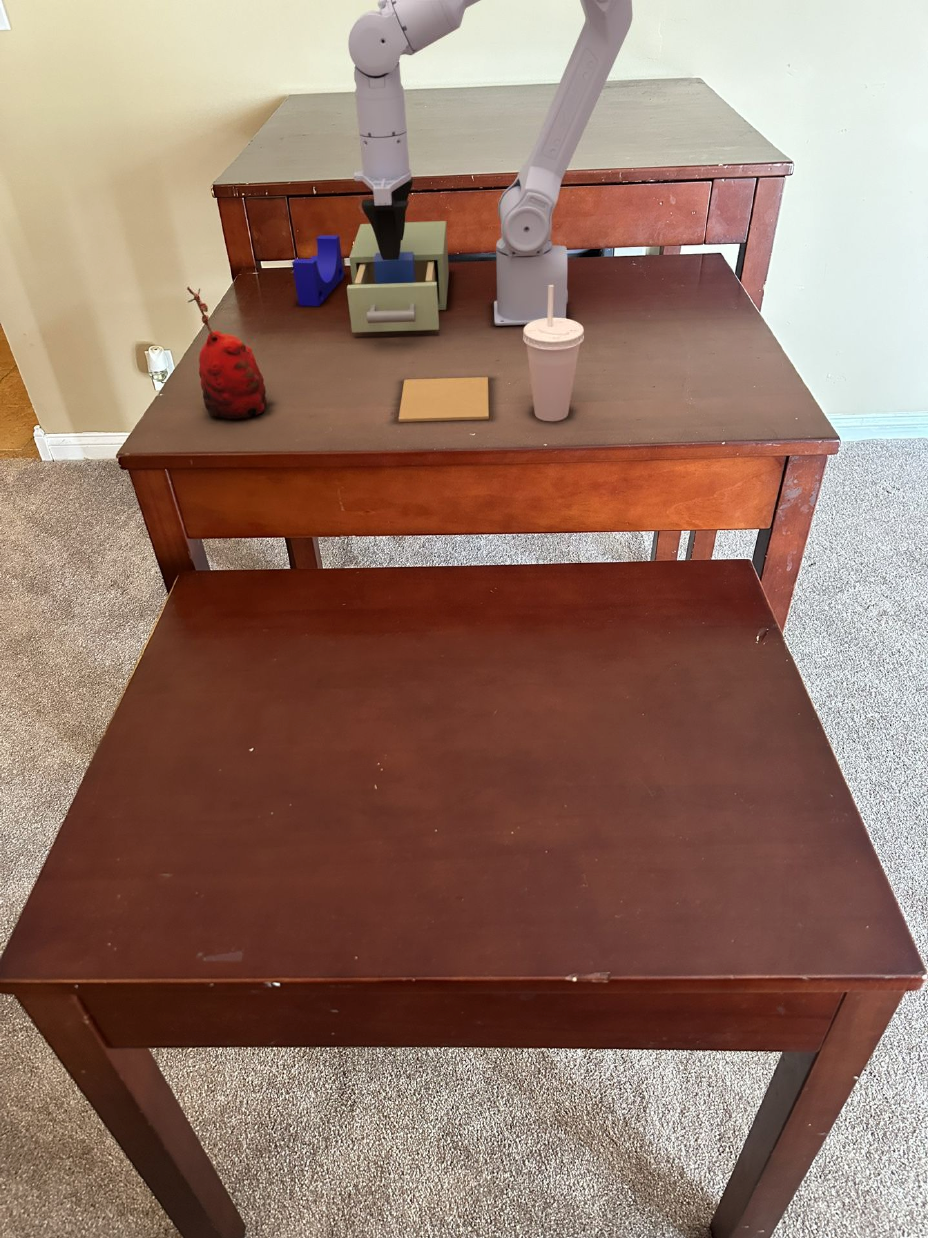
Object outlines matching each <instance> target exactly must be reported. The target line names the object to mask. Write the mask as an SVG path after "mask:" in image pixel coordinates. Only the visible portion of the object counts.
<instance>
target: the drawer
mask: <svg viewBox="0 0 928 1238" xmlns="http://www.w3.org/2000/svg"><path fill="white" fill-rule="evenodd" d="M414 266H415V280H416V283H393V284H376V282H375V272H374V262H363V263H360V267H359V270H358V273H357V277H356V280H355V285H353V284H348V285H347V287H346V294H347V301H348V310H349V318H350V319H349V320H350V326H351V333H378V332H410V331H413V332H414V331H438V330H440V317H439V315H440V314H439V310H438V296H437V278H436V261H435V260H420V261H414Z"/></svg>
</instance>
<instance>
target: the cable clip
mask: <svg viewBox="0 0 928 1238" xmlns="http://www.w3.org/2000/svg"><path fill="white" fill-rule="evenodd" d="M340 240H341V239H340V235H328V234H327V235H324V234H323V235H322V234H320V235H319V236H317V238H316V246H317V248H316V249H317V251H316V253H317V255H312V256H311V257H310V258H295V259H294V260H293V261H292V262H291V263H292V269H293V270H292V271H293V276H294V277H293V278H294V283H295V288H296V295H297V296H296V297H297V302H298V306H301V307H302V306H304V307H320V306H321V305H322V304H323V302H324V301H325V300H326V299H327V298H328V296H329V295H330V294H331V293H332V292H333V291H334V289H335V288H336V287H337V286H338V285H339V284H340V282H342V280H343V279H344V278H345V273H344V265H343V257H342V249H341V241H340Z"/></svg>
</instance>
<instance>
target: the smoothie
mask: <svg viewBox="0 0 928 1238" xmlns="http://www.w3.org/2000/svg"><path fill="white" fill-rule="evenodd" d="M553 290H554V286H553V285H548V317H547V318H543V319H538V320H535V321H532V322H530V323H529V324H527V325H524V327H523V335H522V340H523V342H524V343H525V344H526V352H527V360H528V361H527V362H528V369H529V377H530V385H531V393H532V402H533V410H534V411H533V412H534V416H535V417H536V418H537V419H539V420H541V421H545V422H559V421H561V420H564V419H566V418H567V417H568V415H569V411H570V404H571V399H572V393H573V387H574V381H575V375H576V369H577V364H578V358H579V353H580V345H581V343H583V342H584V339H585V335H584V332H585V328H584V326H583V325H582V324H581V323H580V322H577V321H576V320H574V319H570V318H566V319H565V318H553Z"/></svg>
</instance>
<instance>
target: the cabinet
mask: <svg viewBox="0 0 928 1238" xmlns="http://www.w3.org/2000/svg"><path fill="white" fill-rule="evenodd" d="M447 231H448V229H447V221H446V220H437V221H436V220H435V221H434V220H433V221H413V222H412V221H411V222H410V221H409V222H408V221H407V222H406V221H405V228H404V236H403V240H401V248H400V252H414V261H420V260H435V261H436V278H437V296H438V311H446V310H447V301H448V298H447V297H448V287H449V276H450V275H449V270H450V269H449V251H448V232H447ZM376 253H380V251H379V248H378V244H377V240H376V237H375V234H374V231H373V228H372V226H371V224H370V223H361V224H359V227H358V231H357V234H356V237H355V239H354V242H353V245H352V248H351V251H350V254H349V257H348V258H349V266H350V275H351V285H355V280H356V277H357V273H358V270H359V267H360V263H363V262H374V258H375V255H376Z"/></svg>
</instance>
